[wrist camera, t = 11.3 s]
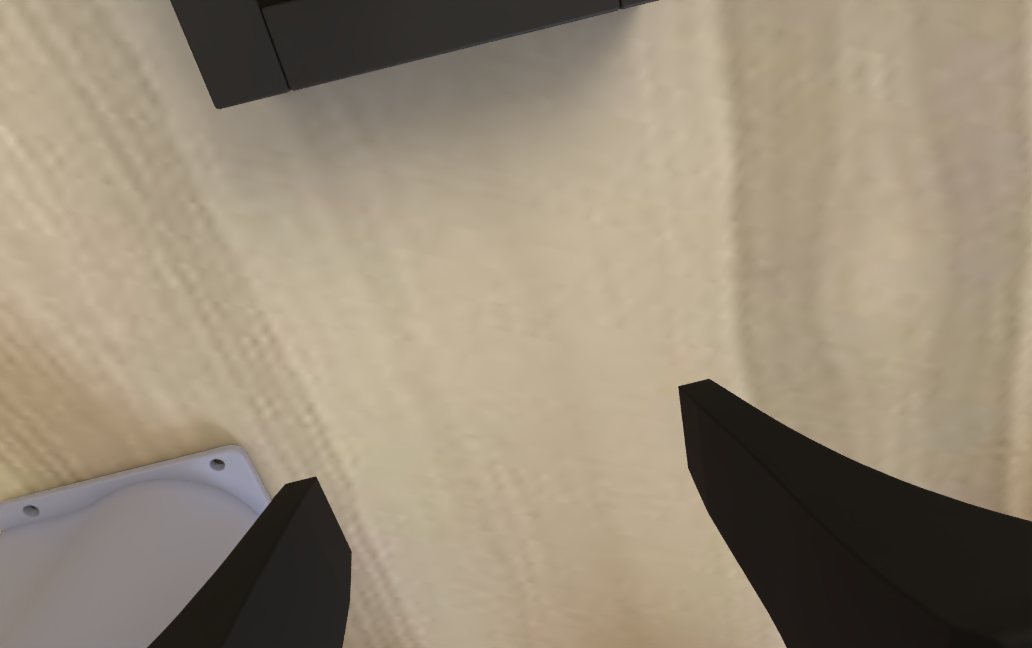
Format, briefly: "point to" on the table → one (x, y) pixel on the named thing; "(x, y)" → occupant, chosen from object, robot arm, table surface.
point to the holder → (348, 36)
